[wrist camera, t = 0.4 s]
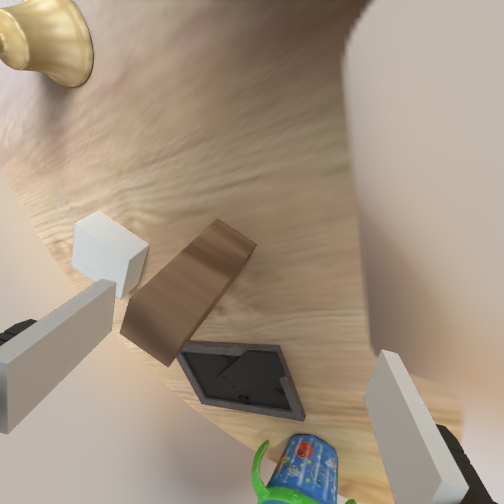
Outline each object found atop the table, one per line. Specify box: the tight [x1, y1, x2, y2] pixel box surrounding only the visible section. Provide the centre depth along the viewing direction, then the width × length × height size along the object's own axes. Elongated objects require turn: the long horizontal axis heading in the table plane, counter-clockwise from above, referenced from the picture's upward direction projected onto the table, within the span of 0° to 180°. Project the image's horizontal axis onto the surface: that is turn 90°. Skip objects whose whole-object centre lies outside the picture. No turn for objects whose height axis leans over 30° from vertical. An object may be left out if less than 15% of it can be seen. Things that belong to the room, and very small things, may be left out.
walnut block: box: [120, 219, 257, 367], centre depth 32 cm, size 5×5×14 cm
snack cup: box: [252, 435, 356, 504], centre depth 47 cm, size 16×11×10 cm
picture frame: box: [176, 340, 306, 422], centre depth 49 cm, size 13×2×18 cm
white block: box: [72, 211, 149, 300], centre depth 44 cm, size 8×8×4 cm
